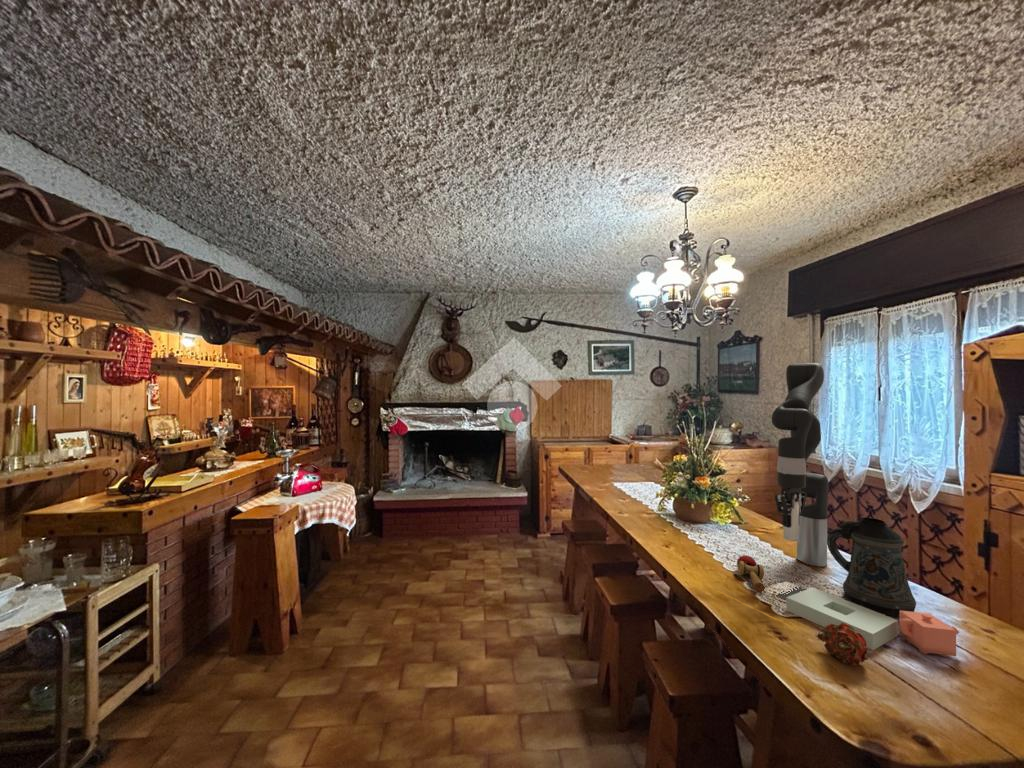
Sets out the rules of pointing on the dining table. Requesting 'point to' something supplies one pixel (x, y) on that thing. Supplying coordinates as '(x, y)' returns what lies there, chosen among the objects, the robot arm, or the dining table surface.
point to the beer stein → (874, 567)
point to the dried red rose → (844, 643)
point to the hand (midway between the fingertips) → (790, 525)
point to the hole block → (843, 615)
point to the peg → (792, 525)
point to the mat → (790, 593)
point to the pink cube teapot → (928, 633)
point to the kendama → (751, 571)
